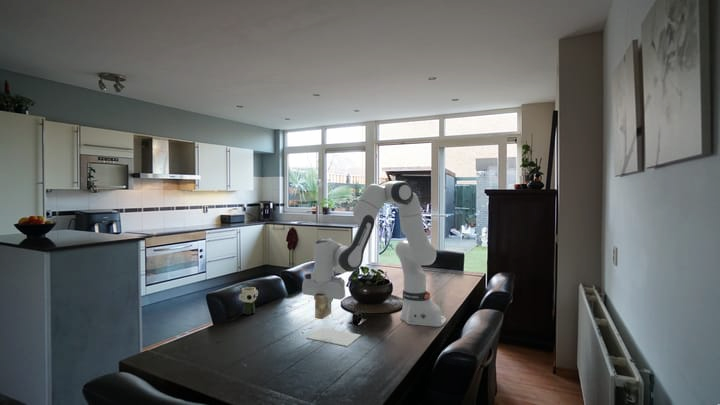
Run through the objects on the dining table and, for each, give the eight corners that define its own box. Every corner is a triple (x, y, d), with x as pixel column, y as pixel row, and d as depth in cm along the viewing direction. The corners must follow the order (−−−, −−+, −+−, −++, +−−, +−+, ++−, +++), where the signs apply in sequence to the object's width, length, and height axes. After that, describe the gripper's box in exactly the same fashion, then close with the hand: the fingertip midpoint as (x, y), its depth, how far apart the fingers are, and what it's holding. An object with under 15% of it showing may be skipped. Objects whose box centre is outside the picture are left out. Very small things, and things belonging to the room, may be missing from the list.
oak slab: (331, 313, 168) (331, 291, 167) (322, 319, 160) (322, 295, 160) (324, 312, 169) (324, 290, 169) (315, 318, 162) (315, 294, 161)
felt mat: (360, 335, 165) (360, 334, 165) (347, 346, 153) (347, 345, 153) (321, 328, 173) (321, 327, 173) (306, 338, 162) (306, 337, 162)
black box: (357, 327, 176) (357, 318, 176) (343, 325, 180) (343, 315, 179) (369, 319, 187) (369, 310, 187) (356, 317, 191) (356, 308, 190)
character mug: (243, 317, 188) (243, 291, 187) (235, 314, 192) (235, 289, 192) (261, 312, 196) (261, 287, 196) (253, 309, 201) (253, 285, 200)
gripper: (347, 276, 163) (347, 307, 163) (308, 271, 171) (307, 301, 172) (341, 279, 157) (340, 312, 157) (300, 274, 166) (300, 305, 166)
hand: (323, 306), depth 165 cm, fingers closed on oak slab, 3 cm apart
